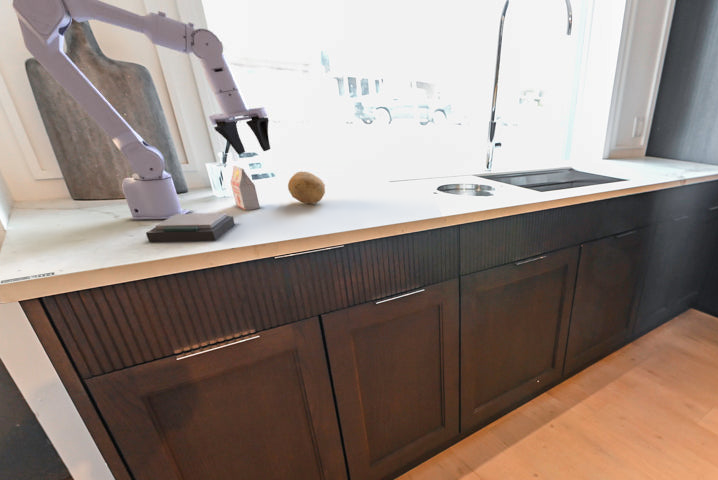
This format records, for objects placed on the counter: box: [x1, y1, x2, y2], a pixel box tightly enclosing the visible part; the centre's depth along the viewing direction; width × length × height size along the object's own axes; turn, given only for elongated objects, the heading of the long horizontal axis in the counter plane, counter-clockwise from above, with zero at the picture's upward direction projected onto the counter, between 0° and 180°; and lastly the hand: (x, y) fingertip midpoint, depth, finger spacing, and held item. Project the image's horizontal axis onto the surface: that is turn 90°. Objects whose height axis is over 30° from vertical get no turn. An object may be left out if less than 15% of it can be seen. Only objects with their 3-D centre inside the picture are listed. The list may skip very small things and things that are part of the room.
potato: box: [287, 171, 326, 205], centre depth 119 cm, size 10×14×8 cm
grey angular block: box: [230, 165, 261, 211], centre depth 112 cm, size 4×7×10 cm, turn 45°
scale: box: [145, 212, 236, 243], centre depth 92 cm, size 12×13×3 cm
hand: (254, 151), depth 108 cm, fingers open, 7 cm apart
